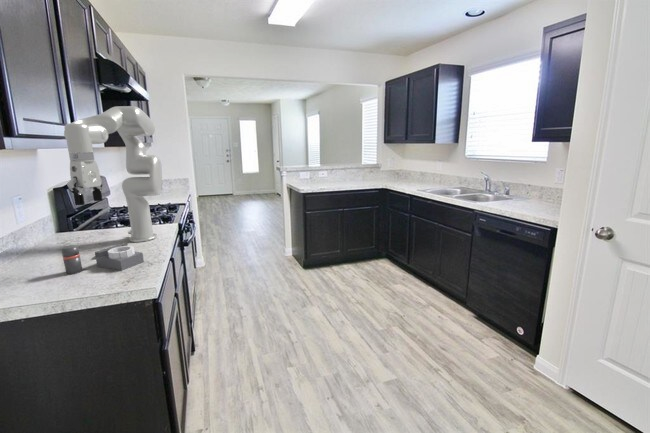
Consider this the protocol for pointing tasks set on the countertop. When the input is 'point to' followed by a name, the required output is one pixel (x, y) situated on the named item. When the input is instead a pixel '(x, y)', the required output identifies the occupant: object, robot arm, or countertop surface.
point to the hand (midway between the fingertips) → (89, 202)
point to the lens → (71, 259)
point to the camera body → (118, 257)
